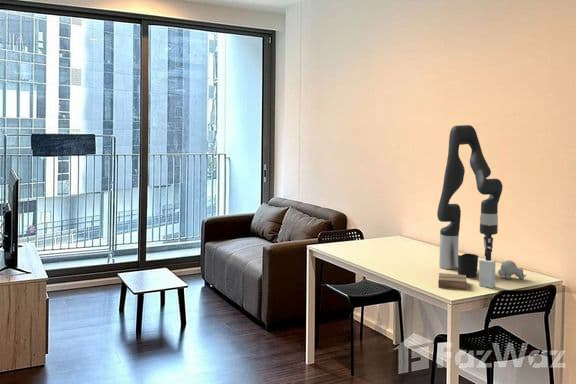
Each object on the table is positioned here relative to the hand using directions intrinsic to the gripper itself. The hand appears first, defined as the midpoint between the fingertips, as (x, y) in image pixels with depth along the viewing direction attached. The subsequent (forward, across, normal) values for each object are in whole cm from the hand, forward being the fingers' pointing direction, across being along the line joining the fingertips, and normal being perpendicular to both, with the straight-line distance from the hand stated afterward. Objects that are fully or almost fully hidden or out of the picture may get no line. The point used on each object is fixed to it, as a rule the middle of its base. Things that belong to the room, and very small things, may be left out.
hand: (487, 258), depth 240 cm
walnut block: (+13, +2, -15) cm, 20 cm away
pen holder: (+13, -17, -8) cm, 23 cm away
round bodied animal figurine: (+13, -17, +12) cm, 25 cm away
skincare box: (+13, 0, 0) cm, 13 cm away
